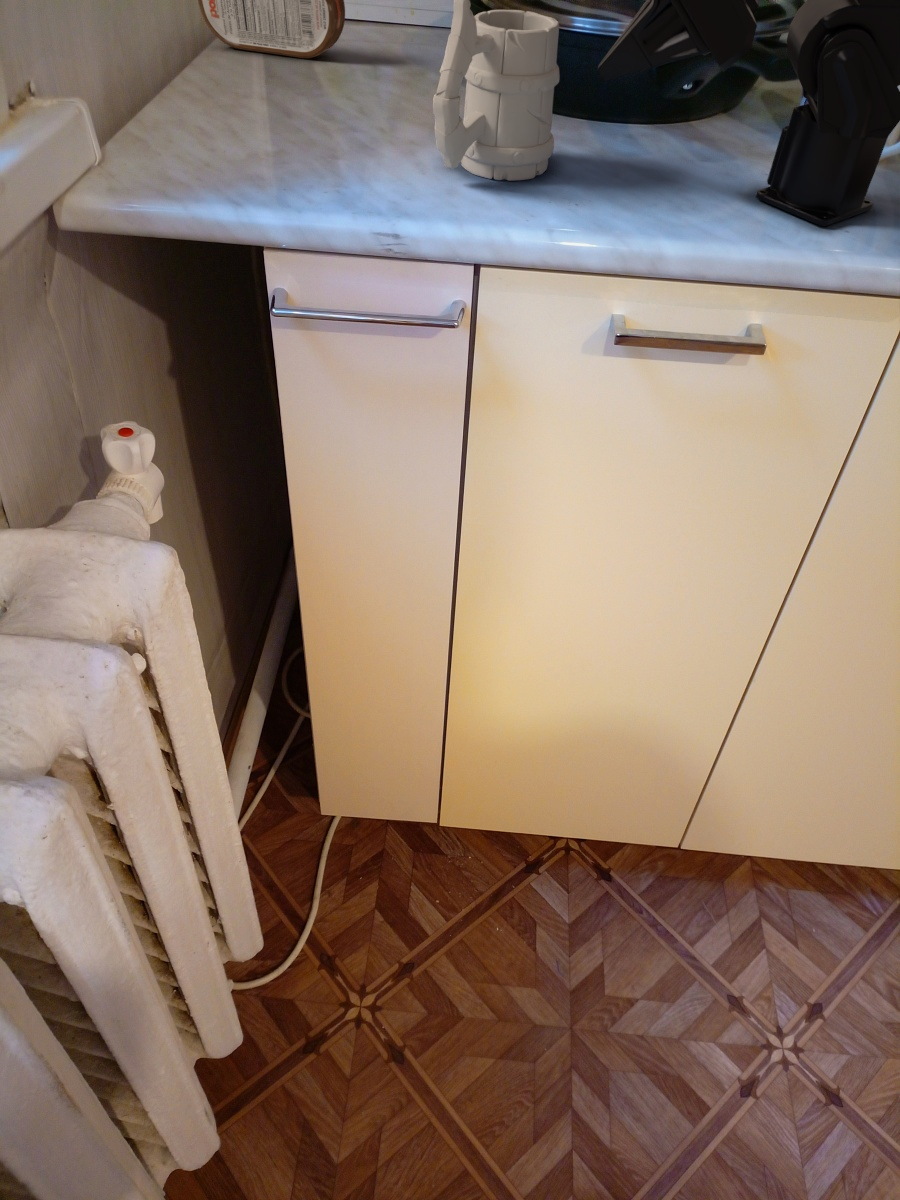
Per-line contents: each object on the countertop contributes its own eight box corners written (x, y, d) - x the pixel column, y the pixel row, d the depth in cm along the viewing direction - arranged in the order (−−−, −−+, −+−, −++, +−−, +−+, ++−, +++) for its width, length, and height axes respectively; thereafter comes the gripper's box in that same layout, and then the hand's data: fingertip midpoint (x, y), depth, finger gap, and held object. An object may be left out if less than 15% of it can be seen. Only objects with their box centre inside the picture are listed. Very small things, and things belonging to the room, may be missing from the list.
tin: (348, 57, 88) (344, -44, 82) (337, 65, 86) (332, -38, 80) (213, 39, 90) (200, -61, 84) (199, 47, 88) (184, -55, 82)
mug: (570, 166, 70) (595, -13, 61) (472, 204, 63) (484, 11, 55) (499, 140, 73) (513, -32, 64) (399, 174, 67) (400, -12, 58)
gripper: (730, -247, 56) (542, -53, 65) (758, -238, 43) (518, 3, 52) (811, -84, 61) (626, 75, 70) (857, -33, 48) (623, 155, 57)
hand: (600, 75), depth 62 cm, fingers closed
